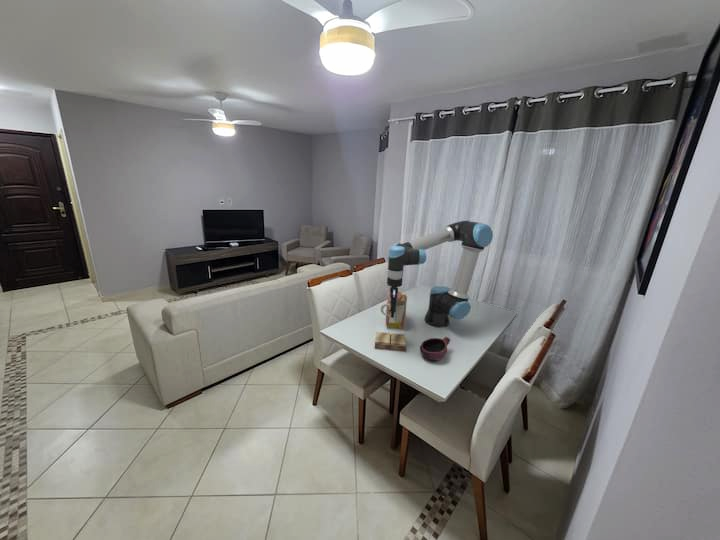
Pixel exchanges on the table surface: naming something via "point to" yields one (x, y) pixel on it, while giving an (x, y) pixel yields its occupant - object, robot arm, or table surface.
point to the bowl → (434, 348)
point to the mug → (399, 310)
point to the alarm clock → (401, 324)
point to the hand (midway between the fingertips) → (391, 319)
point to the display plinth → (390, 341)
